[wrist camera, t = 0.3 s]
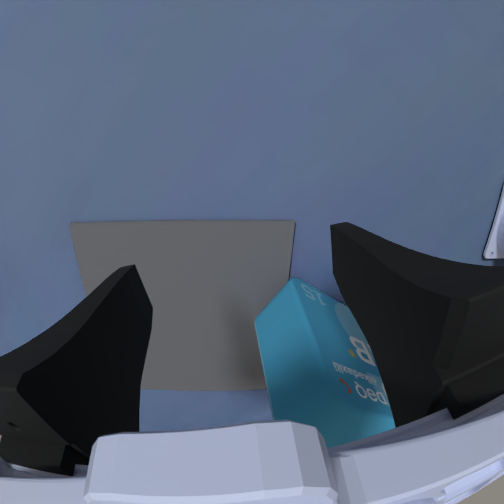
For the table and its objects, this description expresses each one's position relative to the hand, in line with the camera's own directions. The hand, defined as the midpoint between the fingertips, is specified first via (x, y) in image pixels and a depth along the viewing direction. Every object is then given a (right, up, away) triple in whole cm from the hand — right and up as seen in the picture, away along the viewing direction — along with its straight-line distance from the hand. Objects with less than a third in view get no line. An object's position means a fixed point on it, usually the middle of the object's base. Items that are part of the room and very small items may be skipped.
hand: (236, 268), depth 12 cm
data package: (+7, -5, +15) cm, 17 cm away
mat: (-5, -5, +14) cm, 16 cm away
